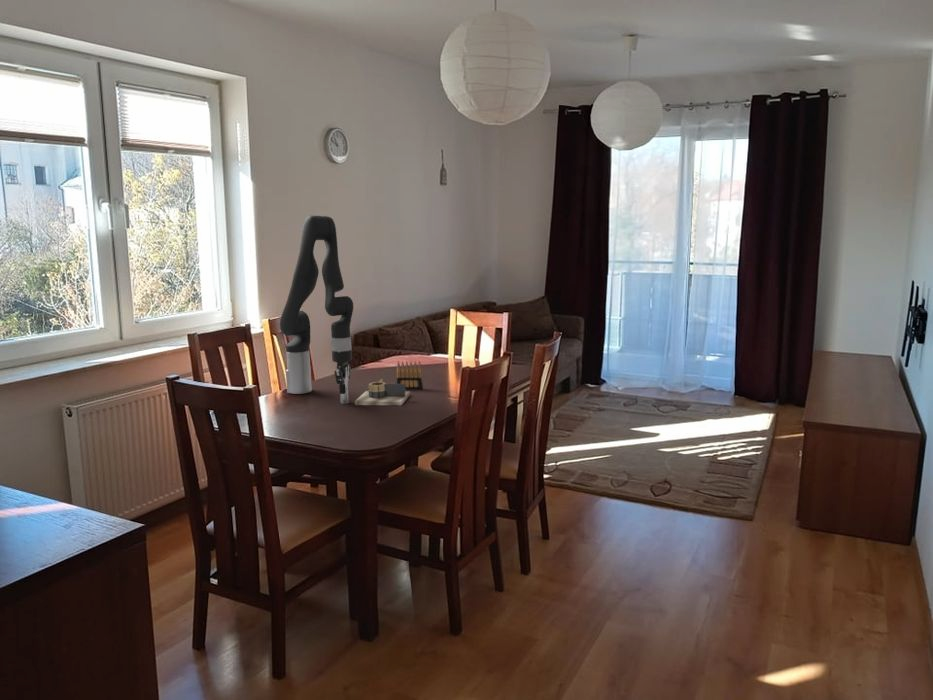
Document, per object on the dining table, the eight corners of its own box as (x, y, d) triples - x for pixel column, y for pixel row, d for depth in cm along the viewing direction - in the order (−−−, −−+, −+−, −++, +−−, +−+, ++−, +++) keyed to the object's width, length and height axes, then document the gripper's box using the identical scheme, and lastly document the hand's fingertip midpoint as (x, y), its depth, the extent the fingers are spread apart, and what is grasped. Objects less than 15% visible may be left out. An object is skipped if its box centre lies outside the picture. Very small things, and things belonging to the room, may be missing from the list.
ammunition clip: (396, 389, 303) (395, 361, 301) (397, 388, 305) (396, 360, 303) (422, 389, 302) (421, 361, 300) (423, 388, 304) (422, 360, 302)
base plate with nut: (355, 404, 280) (354, 388, 279) (366, 394, 296) (365, 378, 295) (401, 405, 278) (400, 388, 277) (409, 395, 293) (409, 379, 292)
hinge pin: (339, 403, 283) (338, 373, 280) (342, 401, 286) (340, 371, 283) (347, 403, 282) (345, 373, 280) (349, 401, 285) (347, 371, 283)
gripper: (337, 345, 287) (340, 388, 290) (326, 352, 274) (329, 397, 277) (356, 345, 286) (358, 388, 289) (345, 352, 273) (348, 397, 276)
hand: (344, 392), depth 283 cm, fingers closed on hinge pin, 3 cm apart
